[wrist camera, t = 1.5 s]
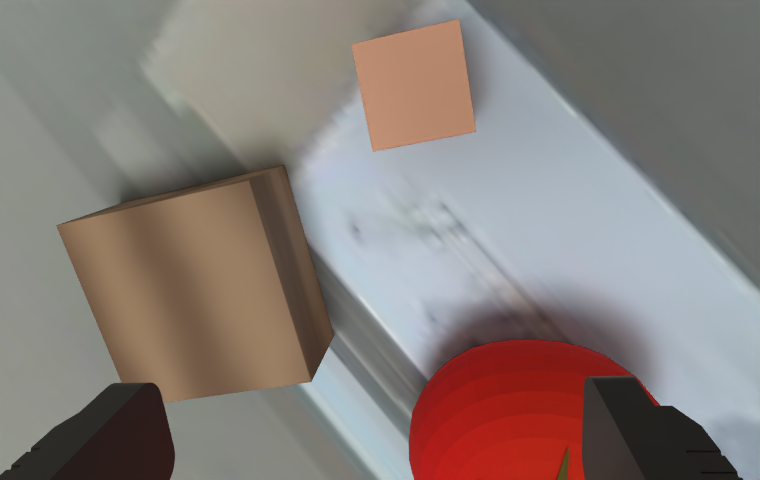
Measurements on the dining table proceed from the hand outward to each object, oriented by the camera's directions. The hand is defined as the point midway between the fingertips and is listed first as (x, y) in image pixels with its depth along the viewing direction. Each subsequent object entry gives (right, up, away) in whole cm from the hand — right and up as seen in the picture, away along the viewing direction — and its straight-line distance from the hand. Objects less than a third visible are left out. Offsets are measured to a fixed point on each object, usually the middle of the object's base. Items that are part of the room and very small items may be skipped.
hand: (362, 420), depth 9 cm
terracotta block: (+3, +12, +20) cm, 23 cm away
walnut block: (-10, +1, +25) cm, 27 cm away
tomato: (+10, -7, +25) cm, 27 cm away
